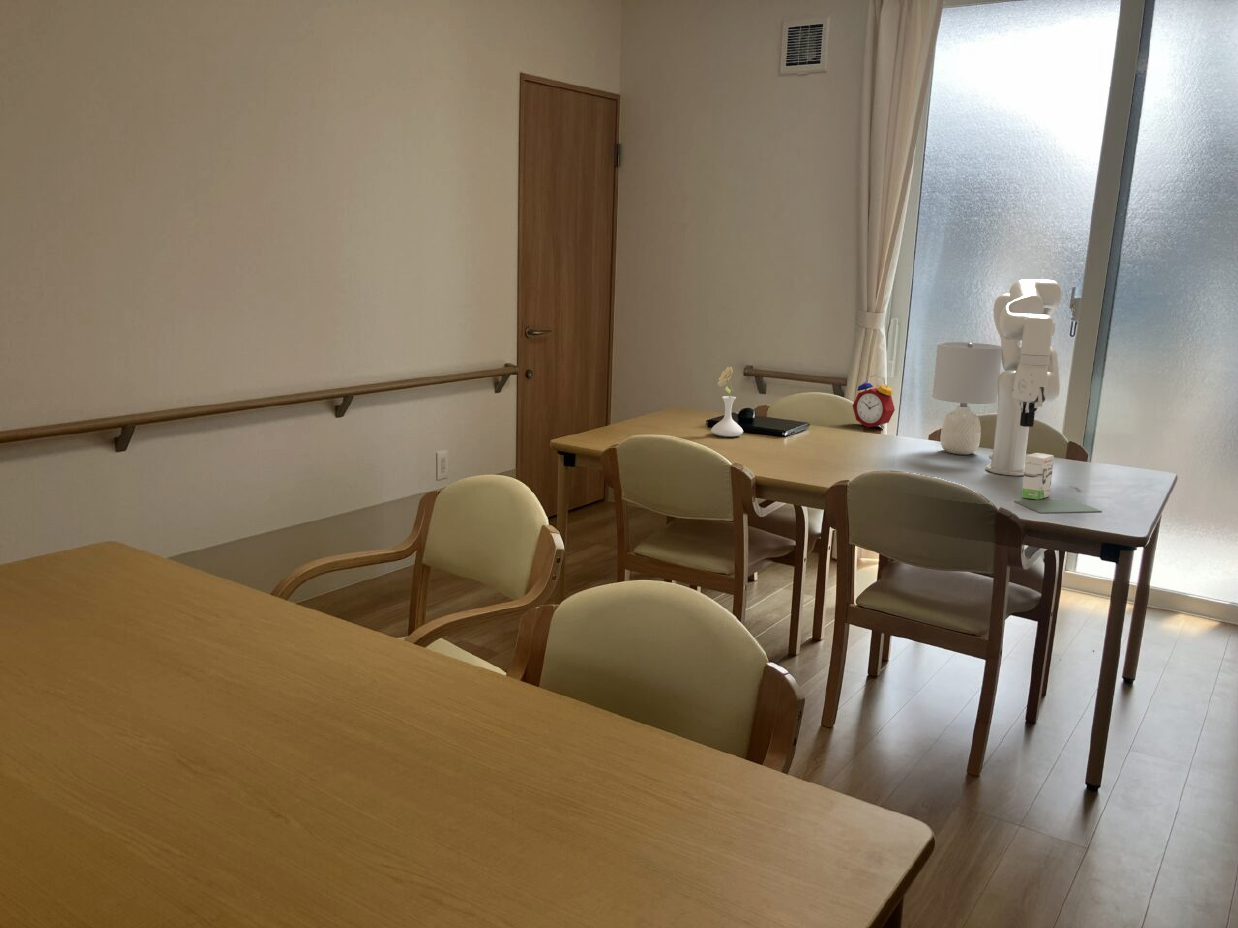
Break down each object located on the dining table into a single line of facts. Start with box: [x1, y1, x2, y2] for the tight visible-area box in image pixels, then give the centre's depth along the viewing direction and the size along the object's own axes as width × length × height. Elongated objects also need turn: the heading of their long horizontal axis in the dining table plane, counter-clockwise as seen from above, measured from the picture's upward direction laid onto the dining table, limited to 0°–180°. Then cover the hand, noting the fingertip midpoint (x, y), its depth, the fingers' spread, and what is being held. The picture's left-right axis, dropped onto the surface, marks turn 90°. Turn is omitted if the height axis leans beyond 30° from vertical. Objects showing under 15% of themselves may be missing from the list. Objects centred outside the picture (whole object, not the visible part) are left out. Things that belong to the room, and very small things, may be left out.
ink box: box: [1021, 452, 1055, 500], centre depth 275 cm, size 9×5×12 cm, turn 137°
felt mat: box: [1013, 498, 1103, 514], centre depth 267 cm, size 12×18×1 cm, turn 100°
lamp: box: [932, 341, 1002, 456], centre depth 331 cm, size 20×20×37 cm
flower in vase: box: [710, 366, 744, 437], centre depth 349 cm, size 13×11×25 cm
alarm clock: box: [852, 374, 896, 430], centre depth 377 cm, size 15×9×20 cm, turn 43°
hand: (1026, 426), depth 280 cm, fingers closed
